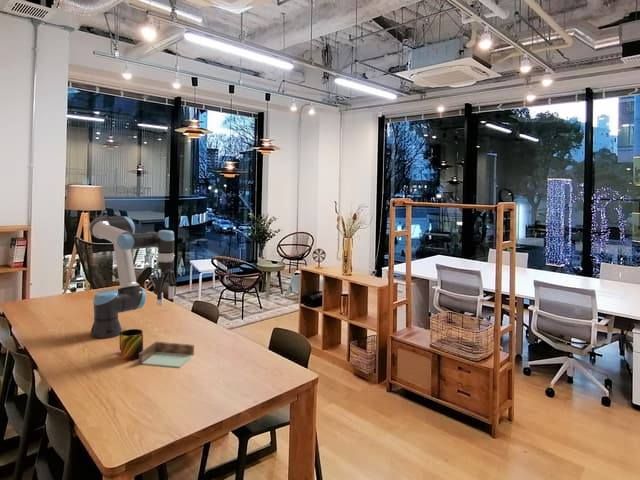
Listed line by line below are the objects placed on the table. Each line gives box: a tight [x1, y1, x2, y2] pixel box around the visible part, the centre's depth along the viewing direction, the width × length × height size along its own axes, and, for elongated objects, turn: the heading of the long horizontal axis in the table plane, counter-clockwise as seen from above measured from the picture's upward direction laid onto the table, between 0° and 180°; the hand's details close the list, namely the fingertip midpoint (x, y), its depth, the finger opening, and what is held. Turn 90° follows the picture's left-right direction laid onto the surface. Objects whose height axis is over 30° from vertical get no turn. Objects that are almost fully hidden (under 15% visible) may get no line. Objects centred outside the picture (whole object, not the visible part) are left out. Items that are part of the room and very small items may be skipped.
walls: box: [138, 341, 195, 365], centre depth 199 cm, size 20×16×5 cm
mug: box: [119, 328, 144, 362], centre depth 200 cm, size 10×14×12 cm
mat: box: [141, 352, 194, 369], centre depth 199 cm, size 18×14×1 cm
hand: (165, 302), depth 215 cm, fingers open, 13 cm apart
